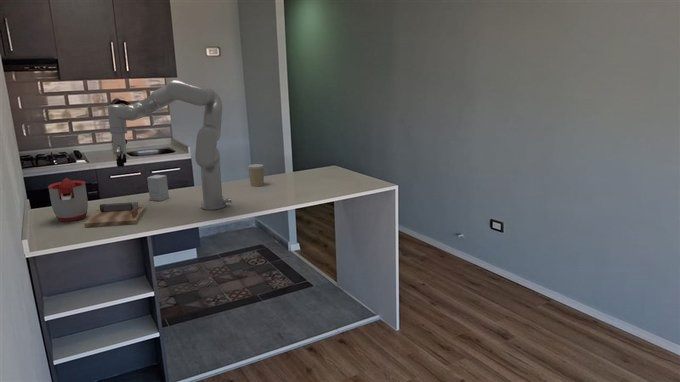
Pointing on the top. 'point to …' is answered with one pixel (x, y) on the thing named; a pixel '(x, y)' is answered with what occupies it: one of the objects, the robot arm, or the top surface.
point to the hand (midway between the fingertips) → (121, 164)
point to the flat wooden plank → (115, 217)
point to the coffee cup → (256, 175)
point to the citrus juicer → (69, 200)
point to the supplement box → (158, 187)
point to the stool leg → (118, 206)
